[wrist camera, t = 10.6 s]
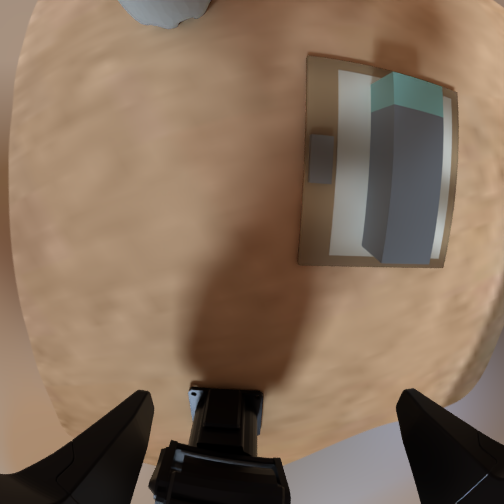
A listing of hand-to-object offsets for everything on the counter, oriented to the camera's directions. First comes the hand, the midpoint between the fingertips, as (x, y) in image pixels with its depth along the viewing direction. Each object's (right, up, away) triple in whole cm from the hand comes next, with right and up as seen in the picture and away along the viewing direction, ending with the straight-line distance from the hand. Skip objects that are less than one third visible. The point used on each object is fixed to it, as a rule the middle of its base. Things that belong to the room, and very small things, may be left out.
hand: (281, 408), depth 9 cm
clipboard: (+8, +11, +9) cm, 16 cm away
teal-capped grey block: (+8, +11, +8) cm, 16 cm away
